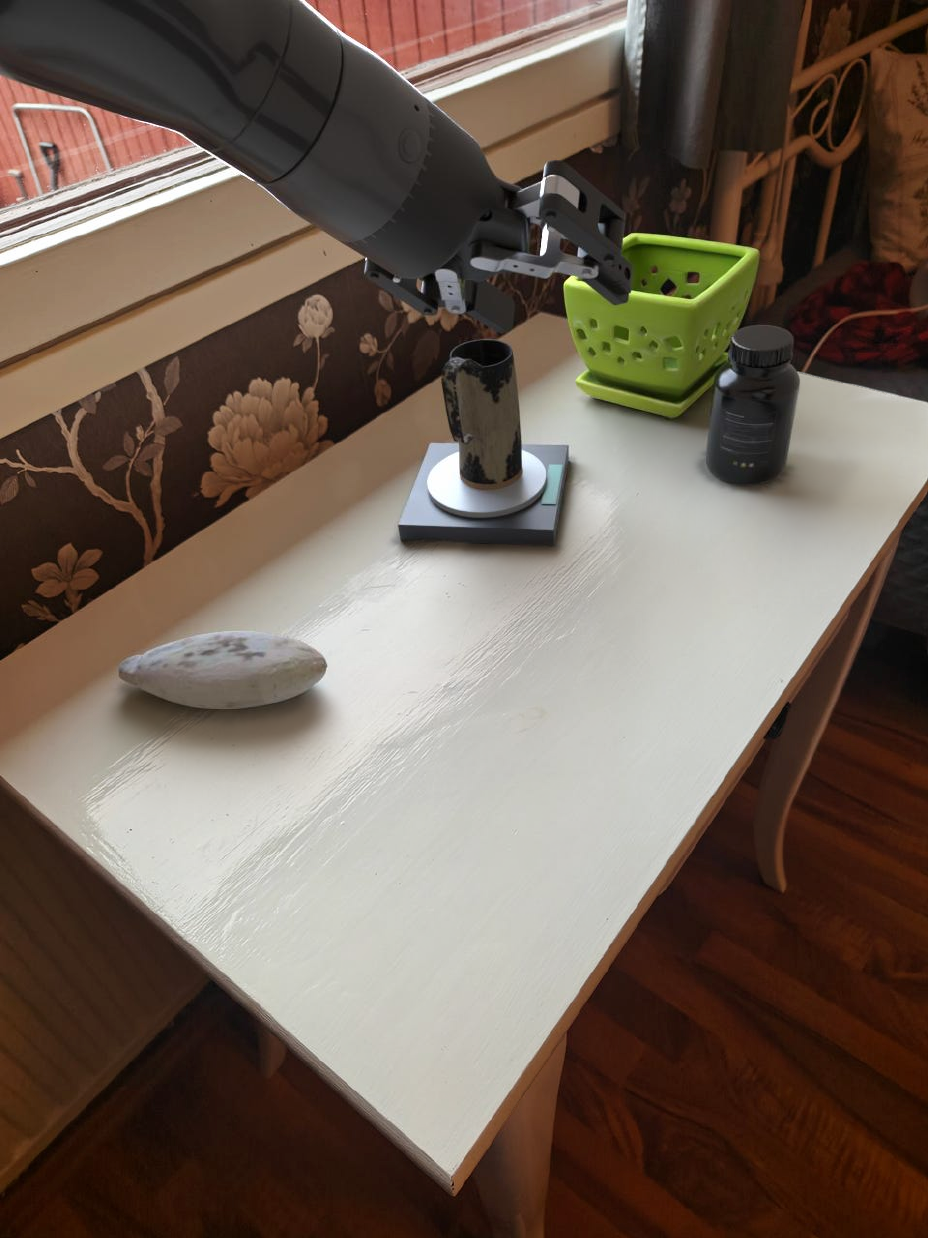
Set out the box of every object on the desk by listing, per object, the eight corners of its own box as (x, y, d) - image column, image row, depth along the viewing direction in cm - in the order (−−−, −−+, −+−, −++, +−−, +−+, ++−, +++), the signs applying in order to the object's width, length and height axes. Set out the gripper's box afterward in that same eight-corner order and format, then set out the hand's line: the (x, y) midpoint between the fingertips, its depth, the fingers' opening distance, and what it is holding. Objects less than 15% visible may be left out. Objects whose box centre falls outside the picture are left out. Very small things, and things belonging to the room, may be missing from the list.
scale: (568, 459, 80) (568, 438, 78) (554, 546, 70) (553, 524, 69) (432, 457, 82) (429, 436, 81) (400, 540, 73) (396, 518, 71)
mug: (480, 449, 78) (468, 320, 70) (534, 461, 76) (529, 330, 68) (434, 495, 73) (416, 363, 65) (490, 510, 71) (478, 375, 63)
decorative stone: (140, 656, 65) (124, 623, 63) (341, 652, 63) (332, 618, 61) (111, 718, 61) (92, 684, 58) (325, 715, 59) (315, 681, 57)
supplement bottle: (709, 442, 80) (723, 316, 72) (787, 449, 78) (810, 319, 70) (699, 483, 75) (713, 353, 67) (782, 491, 73) (807, 358, 65)
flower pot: (628, 348, 95) (632, 228, 87) (749, 374, 88) (767, 247, 80) (559, 403, 87) (557, 278, 79) (686, 437, 81) (699, 304, 72)
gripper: (493, 22, 36) (676, 213, 48) (286, 137, 46) (482, 273, 58) (471, 191, 36) (662, 342, 48) (266, 272, 45) (468, 381, 57)
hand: (563, 304), depth 53 cm, fingers open, 8 cm apart
